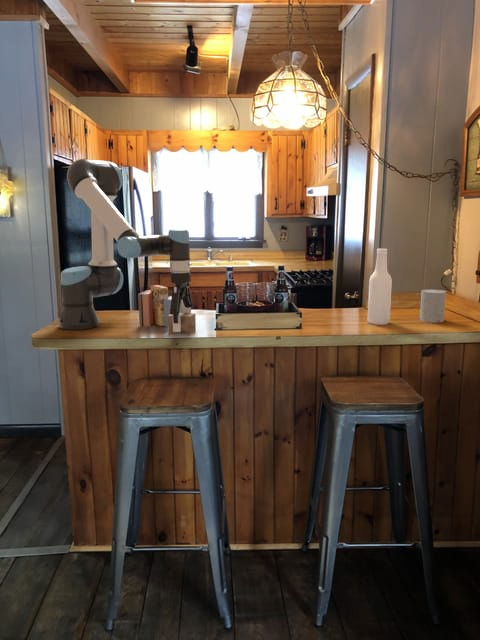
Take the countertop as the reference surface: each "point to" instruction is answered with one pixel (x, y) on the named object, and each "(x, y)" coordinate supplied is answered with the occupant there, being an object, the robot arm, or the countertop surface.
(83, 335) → the countertop surface
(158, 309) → the candy box
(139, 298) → the book rack
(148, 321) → the shelved books
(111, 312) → the countertop surface
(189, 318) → the walnut block
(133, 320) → the countertop surface
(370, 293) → the alcohol
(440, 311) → the grey cylinder
